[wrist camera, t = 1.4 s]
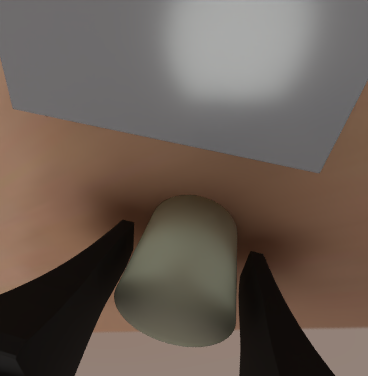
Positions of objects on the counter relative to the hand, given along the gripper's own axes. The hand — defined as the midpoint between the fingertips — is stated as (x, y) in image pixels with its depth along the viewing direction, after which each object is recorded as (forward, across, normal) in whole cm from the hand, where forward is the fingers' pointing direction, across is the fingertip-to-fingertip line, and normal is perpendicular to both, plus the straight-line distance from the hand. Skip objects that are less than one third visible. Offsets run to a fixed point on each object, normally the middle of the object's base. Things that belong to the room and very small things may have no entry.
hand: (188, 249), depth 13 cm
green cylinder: (+2, 0, 0) cm, 2 cm away
